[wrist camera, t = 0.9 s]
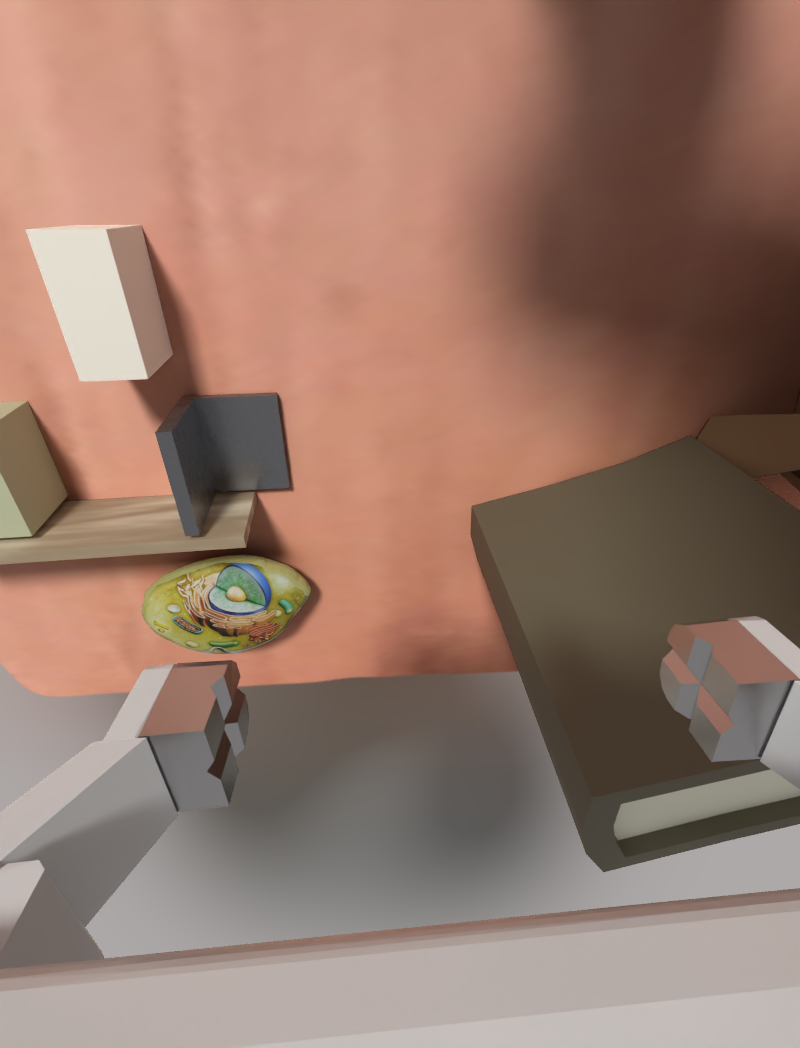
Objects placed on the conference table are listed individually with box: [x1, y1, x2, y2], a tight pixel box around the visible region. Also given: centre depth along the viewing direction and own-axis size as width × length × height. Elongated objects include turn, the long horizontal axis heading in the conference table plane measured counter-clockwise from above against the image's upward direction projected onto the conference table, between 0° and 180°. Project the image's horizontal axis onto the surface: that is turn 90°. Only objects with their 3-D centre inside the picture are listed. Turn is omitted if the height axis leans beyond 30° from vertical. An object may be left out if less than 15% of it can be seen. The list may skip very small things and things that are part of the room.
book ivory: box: [26, 225, 173, 381], centre depth 31 cm, size 8×4×6 cm, turn 0°
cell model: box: [142, 554, 311, 654], centre depth 46 cm, size 10×8×14 cm
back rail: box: [0, 490, 257, 565], centre depth 36 cm, size 10×25×7 cm, turn 90°
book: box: [471, 435, 800, 872], centre depth 36 cm, size 22×9×28 cm, turn 107°
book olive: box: [0, 401, 68, 538], centre depth 35 cm, size 8×4×6 cm, turn 0°
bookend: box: [155, 393, 290, 536], centre depth 36 cm, size 8×7×7 cm
